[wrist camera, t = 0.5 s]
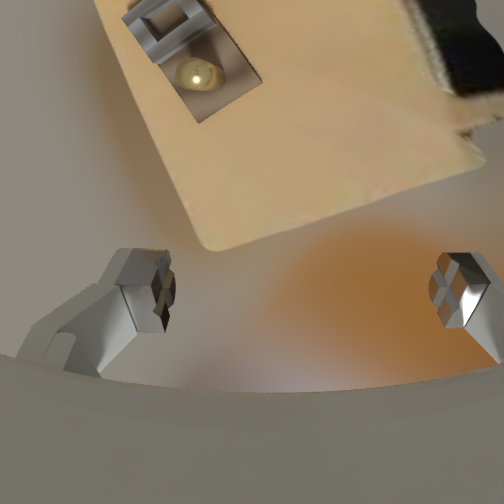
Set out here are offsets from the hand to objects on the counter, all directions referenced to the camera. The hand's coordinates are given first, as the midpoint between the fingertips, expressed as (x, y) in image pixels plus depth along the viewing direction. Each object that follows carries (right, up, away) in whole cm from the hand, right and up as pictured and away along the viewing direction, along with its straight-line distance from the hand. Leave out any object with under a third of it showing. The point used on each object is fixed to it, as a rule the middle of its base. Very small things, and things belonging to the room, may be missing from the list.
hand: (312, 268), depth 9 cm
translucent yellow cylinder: (-8, +27, +35) cm, 45 cm away
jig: (-12, +33, +33) cm, 49 cm away
